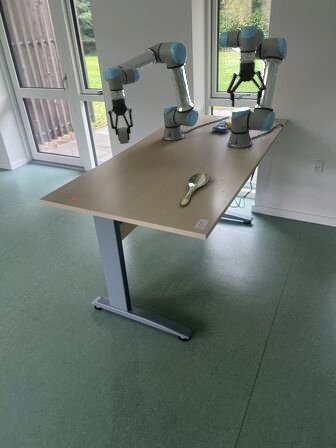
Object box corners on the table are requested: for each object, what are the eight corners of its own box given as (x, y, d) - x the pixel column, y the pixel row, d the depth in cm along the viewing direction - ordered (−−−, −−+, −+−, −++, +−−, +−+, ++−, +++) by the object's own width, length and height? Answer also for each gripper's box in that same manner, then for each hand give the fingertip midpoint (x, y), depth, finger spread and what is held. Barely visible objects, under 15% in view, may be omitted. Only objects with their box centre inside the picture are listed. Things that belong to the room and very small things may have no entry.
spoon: (193, 209, 156) (193, 205, 155) (172, 207, 159) (171, 203, 158) (212, 175, 182) (212, 172, 181) (193, 174, 186) (193, 170, 184)
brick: (120, 140, 199) (118, 127, 195) (128, 139, 199) (127, 126, 196) (120, 144, 194) (118, 130, 190) (128, 143, 194) (126, 130, 190)
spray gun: (237, 125, 262) (219, 125, 268) (237, 120, 259) (219, 119, 266) (229, 134, 246) (210, 133, 253) (229, 128, 244) (210, 127, 250)
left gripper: (101, 101, 181) (108, 143, 193) (134, 98, 181) (139, 140, 193) (102, 98, 187) (109, 139, 199) (134, 95, 187) (139, 136, 199)
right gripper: (224, 64, 165) (223, 109, 176) (274, 60, 165) (270, 104, 176) (221, 63, 171) (221, 106, 182) (269, 58, 171) (266, 101, 182)
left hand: (124, 139), depth 196 cm, fingers closed on brick, 5 cm apart
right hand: (245, 105), depth 179 cm, fingers open, 13 cm apart
